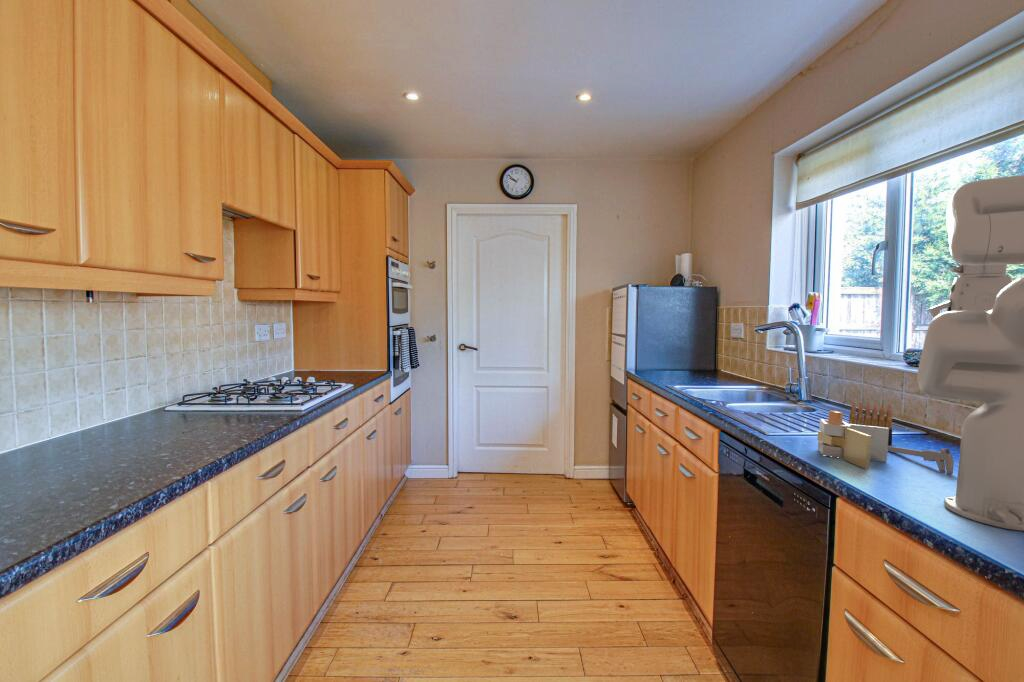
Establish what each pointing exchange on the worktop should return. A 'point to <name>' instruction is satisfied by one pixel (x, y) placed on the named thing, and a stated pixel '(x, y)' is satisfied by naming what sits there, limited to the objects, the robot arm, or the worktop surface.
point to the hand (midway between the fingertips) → (974, 343)
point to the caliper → (930, 457)
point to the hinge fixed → (877, 433)
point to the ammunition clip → (872, 418)
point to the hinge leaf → (851, 446)
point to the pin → (835, 419)
